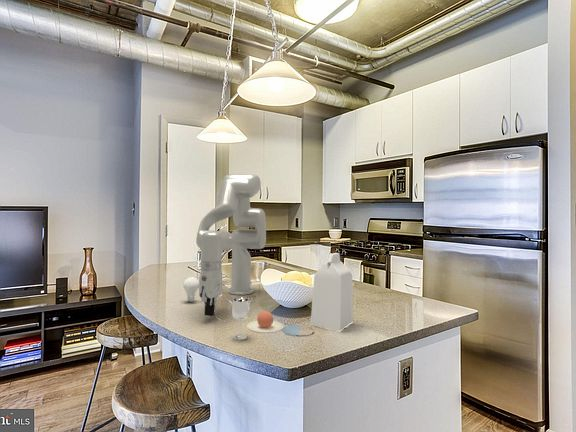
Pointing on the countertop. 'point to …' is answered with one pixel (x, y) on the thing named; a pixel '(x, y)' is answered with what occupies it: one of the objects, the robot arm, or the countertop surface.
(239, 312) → the wineglass
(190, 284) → the light bulb
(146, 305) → the countertop surface
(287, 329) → the disc
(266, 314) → the ball
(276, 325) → the disc
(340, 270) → the milk
